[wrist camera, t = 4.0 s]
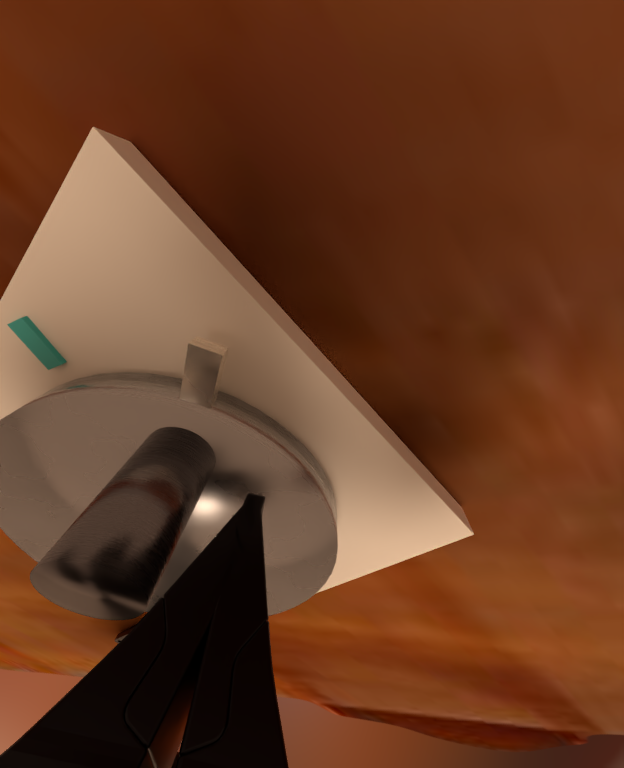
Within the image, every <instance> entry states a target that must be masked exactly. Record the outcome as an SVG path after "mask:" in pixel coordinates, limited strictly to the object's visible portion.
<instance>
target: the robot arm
mask: <svg viewBox="0 0 624 768" xmlns="http://www.w3.org/2000/svg"><path fill="white" fill-rule="evenodd" d="M264 504H265V496H262V495H258V494H254V493H248V494H247V496H246V498H245V500H244V503H243V505H242V506H241V508H240V509H239V510H238V511H237V512H236V513H235V514H234V516H233V517H232V518H231V519H230V520H229V521H228V522H227V523H226V525H225V526H224V527H223V528H222V529H221V530H220V531H219V533H218V534H217V535H216V536H215V537H214V538H213V539H212V540H211V542H210V543H209V544H208V545H207V546H206V547H205V548H204V550H203V551H202V552H201V553H200V554H199V555H198V556H197V558H196V559H195V560H194V561H193V562H192V563H191V564H190V565H189V567H188V568H187V569H186V570H185V571H184V572H183V573H182V575H181V576H180V577H179V578H178V579H177V580H176V581H175V582H174V584H173V585H172V586H171V587H170V588H169V589H168V590H167V592H166V593H165V594H164V598H160V599H159V600H158V602H157V603H156V604H155V605H154V606H153V607H152V608H151V609H150V611H149V612H148V613H147V614H146V615H145V616H144V617H143V618H142V619H141V620H140V622H139V623H138V624H137V625H136V626H135V627H133V628H130V629H128V630H126V631H124V632H122V633H119V634H118V635H117V637H116V639H115V642H117V643H119V644H118V645H117V646H116V647H115V648H114V649H113V650H112V651H111V652H110V653H109V654H108V655H107V656H106V657H105V658H104V659H103V660H101V661H100V662H99V663H98V664H97V665H96V666H95V667H94V668H93V669H92V670H91V671H90V672H89V673H88V674H87V675H86V676H85V677H84V678H83V679H82V680H81V681H80V682H79V683H78V684H76V686H74V687H73V688H72V689H71V690H70V691H69V692H68V693H67V694H66V695H65V696H64V697H63V698H62V699H61V700H60V701H59V702H58V703H57V704H56V705H55V706H54V707H52V708H51V710H49V711H48V712H47V713H46V714H45V715H44V716H43V717H42V718H41V719H40V720H39V721H38V722H37V723H36V724H35V725H34V726H33V727H31V728H30V730H28V731H27V732H26V733H25V734H24V735H23V736H22V737H21V738H20V739H18V740H17V741H16V742H15V743H14V744H13V745H12V746H11V747H9V748H8V749H7V750H6V751H5V752H4V753H2V754H1V755H0V768H288V762H287V756H286V750H285V744H284V738H283V732H282V726H281V720H280V714H279V708H278V702H277V695H276V689H275V682H274V675H273V667H272V656H271V646H270V632H269V622H268V603H267V587H266V572H265V556H264V541H263V525H262V514H263V509H264ZM181 741H182V743H181ZM180 744H181V747H180V752H177V751H178V749H179V746H180Z"/></svg>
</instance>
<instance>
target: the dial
mask: <svg viewBox="0 0 624 768" xmlns="http://www.w3.org/2000/svg"><path fill="white" fill-rule="evenodd" d="M228 350H229V347H226V346H223V345H220V344H218V343H215V342H212V341H209V340H207V339H204V338H201V337H198V336H196V337H195V338H194V339H193V340H192V341H190V342H189V343H188V348H187V354H186V360H185V367H184V373H183V379H181V378H175V377H169V376H164V375H158V374H151V373H133V372H119V373H104V374H96V375H91V376H87V377H82V378H77V379H74V380H72V381H69V382H66V383H64V384H61V385H59V386H56V387H55V388H53V389H51V390H50V391H48V392H46V393H44V394H43V395H41V396H39V397H38V398H36V399H34V400H32V401H31V402H29V403H27V404H26V405H24V406H22V407H21V408H19V409H17V410H15V411H14V412H12V413H11V414H9V415H7V416H6V417H4V418H2V419H1V420H0V527H1V529H2V530H3V531H4V532H5V534H6V535H7V536H8V537H9V538H10V539H11V540H12V541H13V542H14V543H15V544H16V545H17V546H18V547H19V548H21V549H22V550H23V551H24V552H25V553H27V554H28V555H29V556H30V557H32V558H33V559H34V560H35V561H37V562H38V564H37V565H36V566H35V568H34V569H33V570H32V571H31V573H30V580H31V583H32V585H33V586H34V588H35V589H36V590H37V591H38V592H39V593H40V594H41V595H43V596H44V597H45V598H47V599H48V600H50V601H51V602H53V603H55V604H57V605H59V606H61V607H63V608H65V609H67V610H70V611H73V612H75V613H78V614H82V615H85V616H89V617H93V618H99V619H106V620H127V619H132V618H136V617H138V616H140V615H141V614H143V613H144V611H145V612H149V611H150V609H151V608H152V607H153V606H154V605H155V604H156V603H157V602H158V600H159V599H160V598H164V594H165V593H166V592H167V590H168V589H169V588H170V587H171V586H172V585H173V584H174V582H175V581H176V580H177V579H178V578H179V577H180V576H181V575H182V573H183V572H184V571H185V570H186V569H187V568H188V567H189V565H190V564H191V563H192V562H193V561H194V560H195V559H196V558H197V556H198V555H199V554H200V553H201V552H202V551H203V550H204V548H205V547H206V546H207V545H208V544H209V543H210V542H211V540H212V539H213V538H214V537H215V536H216V535H217V534H218V533H219V531H220V530H221V529H222V528H223V527H224V526H225V525H226V523H227V522H228V521H229V520H230V519H231V518H232V517H233V516H234V514H235V513H236V512H237V511H238V510H239V509H240V508H241V506H242V505H243V503H244V500H245V498H246V496H247V494H248V493H254V494H258V495H262V496H265V504H264V509H263V514H262V525H263V541H264V556H265V572H266V587H267V603H268V616H270V615H274V614H277V613H281V612H283V611H286V610H288V609H291V608H293V607H295V606H297V605H299V604H301V603H303V602H305V601H306V600H308V599H309V598H310V597H312V596H313V595H314V594H316V593H317V592H318V591H319V590H320V589H321V588H322V587H323V585H324V584H325V583H326V582H327V580H328V578H329V577H330V575H331V574H332V571H333V569H334V566H335V563H336V558H337V551H338V532H337V508H336V500H335V497H334V493H333V490H332V487H331V485H330V482H329V480H328V478H327V476H326V474H325V472H324V470H323V469H322V468H321V466H320V465H319V463H318V462H317V460H316V459H315V457H314V456H313V455H312V454H311V453H310V451H309V450H308V449H307V448H306V447H305V446H304V445H303V444H302V443H301V442H300V441H299V439H297V438H296V437H295V436H294V435H293V434H292V433H290V432H289V431H288V430H287V429H286V428H284V427H283V426H282V425H281V424H280V423H278V422H277V421H275V420H274V419H272V418H271V417H269V416H268V415H266V414H265V413H263V412H262V411H260V410H259V409H257V408H255V407H253V406H251V405H249V404H247V403H245V402H244V401H242V400H240V399H238V398H236V397H234V396H231V395H229V394H226V393H224V392H221V391H219V387H220V383H221V379H222V374H223V370H224V366H225V362H226V358H227V354H228Z"/></svg>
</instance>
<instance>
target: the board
mask: <svg viewBox="0 0 624 768" xmlns="http://www.w3.org/2000/svg"><path fill="white" fill-rule="evenodd" d="M196 336H198V337H201V338H204V339H207V340H209V341H212V342H215V343H218V344H220V345H223V346H226V347H229V350H228V354H227V358H226V362H225V366H224V370H223V374H222V379H221V383H220V387H219V391H221V392H224V393H226V394H229V395H231V396H234V397H236V398H238V399H240V400H242V401H244V402H245V403H247V404H249V405H251V406H253V407H255V408H257V409H259V410H260V411H262V412H263V413H265V414H266V415H268V416H269V417H271V418H272V419H274V420H275V421H277V422H278V423H280V424H281V425H282V426H283V427H284V428H286V429H287V430H288V431H289V432H290V433H292V434H293V435H294V436H295V437H296V438H297V439H299V441H300V442H301V443H302V444H303V445H304V446H305V447H306V448H307V449H308V450H309V451H310V453H311V454H312V455H313V456H314V457H315V459H316V460H317V462H318V463H319V465H320V466H321V468H322V469H323V470H324V472H325V474H326V476H327V478H328V480H329V482H330V485H331V487H332V490H333V493H334V497H335V500H336V508H337V532H338V551H337V558H336V563H335V566H334V569H333V571H332V574H331V575H330V577H329V578H328V580H327V582H326V583H325V584H324V585H323V587H322V588H321V589H320V590H319V591H318V592H321V591H323V590H326V589H329V588H331V587H334V586H337V585H339V584H342V583H345V582H347V581H350V580H353V579H356V578H358V577H361V576H364V575H366V574H369V573H372V572H374V571H377V570H380V569H382V568H385V567H388V566H390V565H393V564H396V563H399V562H401V561H404V560H407V559H409V558H412V557H415V556H417V555H420V554H423V553H425V552H428V551H431V550H433V549H436V548H439V547H441V546H444V545H447V544H450V543H452V542H455V541H458V540H460V539H463V538H466V537H468V536H471V535H474V533H473V531H472V529H471V527H470V524H469V522H468V520H467V518H466V516H465V513H464V511H463V509H462V507H461V506H460V505H459V504H458V503H457V502H456V500H455V499H454V498H453V497H452V496H451V495H450V494H449V493H448V492H447V491H446V489H445V488H444V487H443V486H442V485H441V484H440V483H439V482H438V481H437V479H436V478H435V477H434V476H433V475H432V474H431V473H430V472H429V471H428V470H427V468H426V467H425V466H424V465H423V464H422V463H421V462H420V461H419V460H418V458H417V457H416V456H415V455H414V454H413V453H412V452H411V451H410V450H409V449H408V447H407V446H406V445H405V444H404V443H403V442H402V441H401V440H400V439H399V437H398V436H397V435H396V434H395V433H394V432H393V431H392V430H391V429H390V428H389V426H388V425H387V424H386V423H385V422H384V421H383V420H382V419H381V418H380V417H379V415H378V414H377V413H376V412H375V411H374V410H373V409H372V408H371V407H370V405H369V404H368V403H367V402H366V401H365V400H364V399H363V398H362V397H361V396H360V394H359V393H358V392H357V391H356V390H355V389H354V388H353V387H352V386H351V384H350V383H349V382H348V381H347V380H346V379H345V378H344V377H343V376H342V375H341V373H340V372H339V371H338V370H337V369H336V368H335V367H334V366H333V365H332V363H331V362H330V361H329V360H328V359H327V358H326V357H325V356H324V355H323V354H322V352H321V351H320V350H319V349H318V348H317V347H316V346H315V345H314V344H313V343H312V341H311V340H310V339H309V338H308V337H307V336H306V335H305V334H304V333H303V331H302V330H301V329H300V328H299V327H298V326H297V325H296V324H295V323H294V322H293V320H292V319H291V318H290V317H289V316H288V315H287V314H286V313H285V312H284V310H283V309H282V308H281V307H280V306H279V305H278V304H277V303H276V302H275V301H274V299H273V298H272V297H271V296H270V295H269V294H268V293H267V292H266V291H265V290H264V288H263V287H262V286H261V285H260V284H259V283H258V282H257V281H256V280H255V278H254V277H253V276H252V275H251V274H250V273H249V272H248V271H247V270H246V269H245V267H244V266H243V265H242V264H241V263H240V262H239V261H238V260H237V259H236V257H235V256H234V255H233V254H232V253H231V252H230V251H229V250H228V249H227V248H226V246H225V245H224V244H223V243H222V242H221V241H220V240H219V239H218V238H217V236H216V235H215V234H214V233H213V232H212V231H211V230H210V229H209V228H208V227H207V225H206V224H205V223H204V222H203V221H202V220H201V219H200V218H199V217H198V216H197V214H196V213H195V212H194V211H193V210H192V209H191V208H190V207H189V206H188V204H187V203H186V202H185V201H184V200H183V199H182V198H181V197H180V196H179V195H178V193H177V192H176V191H175V190H174V189H173V188H172V187H171V186H170V185H169V183H168V182H167V181H166V180H165V179H164V178H163V177H162V176H161V175H160V174H159V172H158V171H157V170H156V169H155V168H154V167H153V166H152V165H151V164H150V162H149V161H148V160H147V159H146V158H145V157H144V156H143V155H142V154H141V153H140V151H139V150H138V149H137V148H136V147H135V146H134V145H133V144H132V143H131V142H130V141H127V140H125V139H122V138H120V137H117V136H115V135H113V134H110V133H108V132H105V131H103V130H100V129H98V128H96V127H92V129H91V131H90V133H89V135H88V137H87V139H86V141H85V142H84V144H83V146H82V148H81V150H80V152H79V154H78V156H77V158H76V159H75V161H74V163H73V165H72V167H71V169H70V171H69V173H68V174H67V176H66V178H65V180H64V182H63V184H62V186H61V188H60V189H59V191H58V193H57V195H56V197H55V199H54V201H53V203H52V204H51V206H50V208H49V210H48V212H47V214H46V216H45V218H44V219H43V221H42V223H41V225H40V227H39V229H38V231H37V233H36V235H35V236H34V238H33V240H32V242H31V244H30V246H29V248H28V250H27V251H26V253H25V255H24V257H23V259H22V261H21V263H20V265H19V266H18V268H17V270H16V272H15V274H14V276H13V278H12V280H11V281H10V283H9V285H8V287H7V289H6V291H5V293H4V295H3V296H2V298H1V300H0V420H1V419H2V418H4V417H6V416H7V415H9V414H11V413H12V412H14V411H15V410H17V409H19V408H21V407H22V406H24V405H26V404H27V403H29V402H31V401H32V400H34V399H36V398H38V397H39V396H41V395H43V394H44V393H46V392H48V391H50V390H51V389H53V388H55V387H56V386H59V385H61V384H64V383H66V382H69V381H72V380H74V379H77V378H82V377H87V376H91V375H96V374H104V373H119V372H133V373H151V374H158V375H164V376H169V377H175V378H181V379H183V373H184V367H185V360H186V354H187V348H188V343H189V342H190V341H192V340H193V339H194V338H195V337H196ZM318 592H317V593H318Z"/></svg>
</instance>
